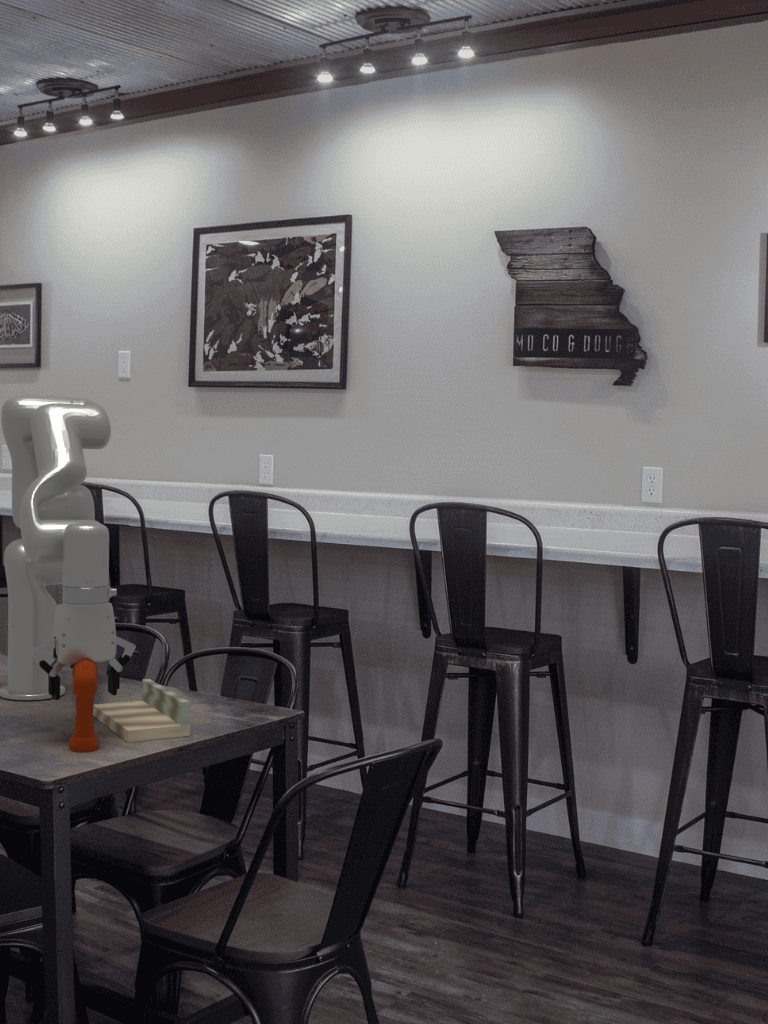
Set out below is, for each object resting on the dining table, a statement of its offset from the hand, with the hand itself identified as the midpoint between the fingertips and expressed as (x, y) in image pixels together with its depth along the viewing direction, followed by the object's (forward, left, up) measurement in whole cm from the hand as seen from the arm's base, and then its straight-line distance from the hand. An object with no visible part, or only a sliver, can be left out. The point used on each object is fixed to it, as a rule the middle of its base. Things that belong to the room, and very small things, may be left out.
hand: (84, 696), depth 186 cm
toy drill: (0, 0, -8) cm, 8 cm away
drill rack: (-6, +12, -7) cm, 15 cm away
